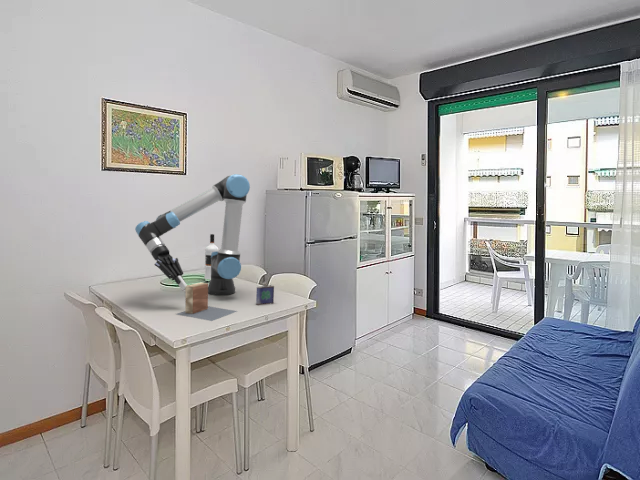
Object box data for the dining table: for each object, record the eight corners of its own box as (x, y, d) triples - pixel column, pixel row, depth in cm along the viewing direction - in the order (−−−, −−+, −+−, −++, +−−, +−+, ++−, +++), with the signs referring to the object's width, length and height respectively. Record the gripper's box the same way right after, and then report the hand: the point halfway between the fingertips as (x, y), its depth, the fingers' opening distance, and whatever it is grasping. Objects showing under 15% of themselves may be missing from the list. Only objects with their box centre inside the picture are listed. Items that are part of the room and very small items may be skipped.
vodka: (215, 283, 245) (216, 235, 243) (201, 282, 246) (202, 234, 244) (221, 280, 254) (222, 234, 252) (207, 279, 256) (208, 233, 253)
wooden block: (185, 312, 175) (185, 286, 174) (200, 307, 184) (201, 282, 183) (192, 314, 174) (193, 287, 173) (208, 308, 183) (208, 283, 182)
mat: (175, 315, 172) (175, 314, 172) (203, 306, 189) (203, 305, 189) (211, 322, 164) (211, 320, 164) (237, 312, 181) (237, 311, 181)
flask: (257, 305, 195) (257, 283, 194) (255, 303, 197) (255, 282, 196) (274, 303, 199) (275, 282, 198) (272, 302, 202) (272, 281, 201)
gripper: (164, 253, 193) (190, 291, 188) (142, 256, 182) (170, 296, 176) (172, 243, 191) (199, 281, 185) (151, 245, 179) (179, 285, 174)
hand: (185, 288), depth 181 cm, fingers closed
